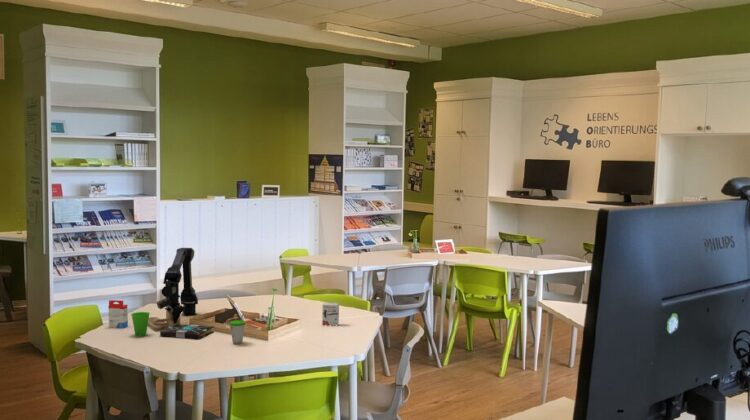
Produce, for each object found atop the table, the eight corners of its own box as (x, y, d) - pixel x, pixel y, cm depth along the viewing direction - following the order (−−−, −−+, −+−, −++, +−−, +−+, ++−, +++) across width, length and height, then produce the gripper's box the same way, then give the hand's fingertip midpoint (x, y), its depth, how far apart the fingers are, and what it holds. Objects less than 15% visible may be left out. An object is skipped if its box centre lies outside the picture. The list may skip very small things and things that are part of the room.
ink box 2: (322, 325, 360) (322, 304, 359) (323, 323, 365) (323, 302, 364) (337, 326, 359) (337, 304, 358) (338, 324, 364) (339, 302, 363)
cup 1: (154, 334, 336) (153, 312, 336) (140, 338, 328) (140, 316, 327) (140, 332, 340) (140, 311, 339) (127, 336, 332) (127, 314, 331)
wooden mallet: (177, 324, 358) (177, 310, 357) (180, 326, 353) (180, 311, 353) (151, 327, 350) (151, 312, 350) (154, 329, 346) (154, 314, 345)
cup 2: (227, 341, 323) (227, 311, 322) (243, 340, 326) (243, 310, 326) (231, 345, 316) (231, 314, 315) (247, 344, 319) (247, 313, 318)
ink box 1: (128, 326, 353) (127, 299, 352) (123, 328, 348) (123, 300, 347) (112, 325, 354) (112, 298, 353) (108, 327, 349) (108, 300, 348)
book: (159, 337, 331) (159, 327, 331) (176, 330, 348) (176, 320, 348) (199, 340, 327) (199, 330, 326) (214, 332, 343) (214, 323, 343)
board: (156, 320, 367) (156, 316, 367) (170, 329, 347) (170, 325, 347) (141, 322, 363) (141, 318, 363) (155, 331, 342) (155, 327, 342)
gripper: (152, 292, 356) (152, 320, 357) (163, 297, 341) (163, 327, 341) (173, 290, 362) (173, 318, 363) (184, 295, 347) (184, 325, 348)
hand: (173, 322), depth 354 cm, fingers closed on wooden mallet, 5 cm apart
